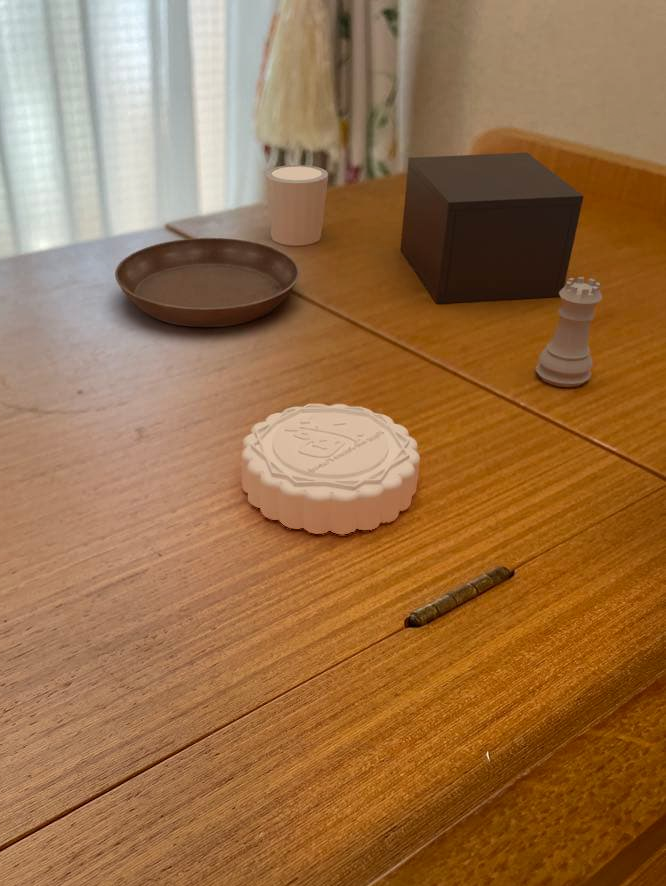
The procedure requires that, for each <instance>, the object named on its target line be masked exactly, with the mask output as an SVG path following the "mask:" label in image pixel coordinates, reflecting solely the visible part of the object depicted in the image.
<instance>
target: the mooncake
mask: <svg viewBox="0 0 666 886" xmlns="http://www.w3.org/2000/svg"><path fill="white" fill-rule="evenodd" d="M418 448H419V444H418V442H417V440H416V439H415V438H414V437H412V436H410V432H409V430H408V429H407V428H406V427H405V426H404V425H402V424H399V423H395V422H394V420H393V419H392V418H391V417H390V416H388V415H387V414H386V415H385V414H383V413H379V412H378V413H377V412H374V411H373V410H371V409H369V408H366V407H363V406H359V405H358V406H350V405H348V404H344V403H334V404H331V405H327V404H324V403H308V404H306V405H303V406H291V407H289V408H285V409H284V410H283V411H282V412H275V413H272V414H270V415H267V416H266V418H265V420H264V421H260V422H257V423H255V424H254V425H253V426H252V427H251V430H250V433H249V434H247V435H245V437H244V438H243V440H242V451H241V455H240V457H241V462H240V463H241V487H242V490H243V491H244V492H245V493H246V492H247V493H248V494H247V493H246V494H247V501H248V503H249V502H250V503H251V504H252V505H254V506H257V507H260V509H259V510H260V513H261V512H262V513H261V515H262V514H263V515H264V516H266V517H268V518H273V519H279V521H278V522H279V523H280V522H281V523H282V524H283V525H285V526H287V527H290V528H300V527H304V529H305V530H307V531H309V532H314V533H325V532H328V531H331V532H333V533H334V532H335V533H338V534H346V533H350V532H353V533H355V532H356V531H357V530H356V529H359V530H371V531H373V530H372V529H374V530H376V529H377V528H378V527H379V526H380V524H389V523H392V522H394V521H396V520H397V518H398V517H399V515H400V511H401V512H404V511H406V510H408V509H409V508H410V506H411V503H412V499H413V496H414V495H415V494H416V492H417V488H418V487H417V486H418V481H419V480H418V479H419V473H420V472H419V471H420V463H421V456H420V454H419V452H418ZM250 503H249V504H250ZM251 504H250V505H251ZM252 505H251V506H252ZM263 515H262V516H263ZM264 516H263V517H264ZM386 522H387V523H386ZM281 523H280V524H281ZM282 524H281V525H282ZM283 525H282V526H283ZM375 528H376V529H375ZM304 529H303V530H304ZM305 530H304V531H305ZM359 530H358V531H359ZM331 532H330V533H331ZM328 533H329V532H328ZM333 533H332V534H333Z"/></svg>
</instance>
